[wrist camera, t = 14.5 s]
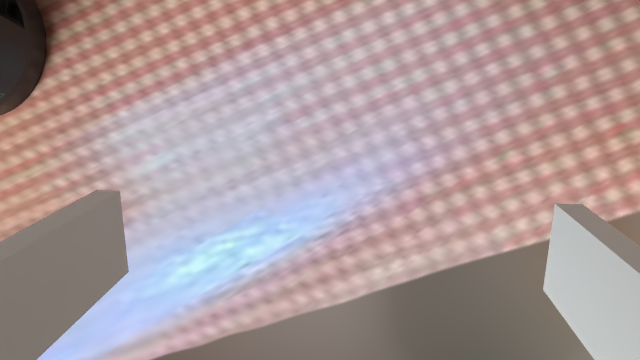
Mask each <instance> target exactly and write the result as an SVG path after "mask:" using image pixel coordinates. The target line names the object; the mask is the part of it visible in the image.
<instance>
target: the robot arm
mask: <svg viewBox="0 0 640 360" xmlns="http://www.w3.org/2000/svg"><path fill="white" fill-rule="evenodd" d="M45 51H46V38H45V30H44V25H43V21H42V18H41V15H40V13H39V10H38V8H37V6H36V4H35V3H34V1H33V0H0V115H2V114H4V113H7V112H9V111H10V110H12V109H14V108H15V107H17V106H18V105H19V104H20V103H21V102H22V101H24V99H25V98H26V97H27V96H28V95H29V94H30V92H31V91H32V90H33V88H34V86H35V85H36V83H37V81H38V79H39V76H40V74H41V71H42V68H43V64H44V59H45ZM127 273H128V263H127V253H126V244H125V235H124V226H123V217H122V207H121V198H120V191H104V190H96V191H94V192H92V193H90V194H88V195H87V196H85V197H83V198H81V199H79V200H77V201H75V202H73V203H72V204H70V205H68V206H66V207H64V208H62V209H60V210H59V211H57V212H55V213H53V214H51V215H49V216H47V217H46V218H44V219H42V220H40V221H38V222H36V223H34V224H32V225H31V226H29V227H27V228H25V229H23V230H21V231H19V232H18V233H16V234H14V235H12V236H10V237H8V238H6V239H5V240H3V241H1V242H0V360H37V359H38V358H39V357H40V356H41V355H42V354H43V353H44V352H45V351H46V350H47V349H48V348H49V347H50V346H51V345H52V344H53V343H54V342H55V341H56V340H58V339H59V338H60V337H61V336H62V335H63V334H64V333H65V332H66V331H67V330H68V329H69V328H70V327H71V326H72V325H73V324H74V323H75V322H76V321H77V320H78V319H80V318H81V317H82V316H83V315H84V314H85V313H86V312H87V311H88V310H89V309H90V308H91V307H92V306H93V305H94V304H95V303H96V302H97V301H98V300H99V299H100V298H102V297H103V296H104V295H105V294H106V293H107V292H108V291H109V290H110V289H111V288H112V287H113V286H114V285H115V284H116V283H117V282H118V281H119V280H120V279H121V278H122V277H124V276H125V275H126V274H127ZM543 290H544V291H545V293H546V294H547V296H548V297H549V298H550V300H551V301H552V302H553V303H554V305H555V306H556V308H557V309H558V311H559V312H560V313H561V315H562V316H563V317H564V319H565V320H566V321H567V323H568V324H569V325H570V327H571V328H572V330H573V331H574V332H575V334H576V335H577V336H578V338H579V339H580V341H581V342H582V343H583V345H584V346H585V347H586V349H587V350H588V351H589V353H590V354H591V355H592V357H593V358H594V360H640V246H639V245H637V244H636V243H635V242H633V241H632V240H631V239H629V238H628V237H626V236H625V235H624V234H622V233H621V232H619V231H618V230H617V229H615V228H614V227H613V226H611V225H610V224H609V223H607V222H606V221H605V220H603V219H602V218H600V217H599V216H598V215H596V214H595V213H594V212H592V211H591V210H589V209H588V208H587V207H585V206H584V205H583V204H555V207H554V215H553V222H552V230H551V237H550V245H549V252H548V259H547V266H546V274H545V281H544V288H543Z"/></svg>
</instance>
